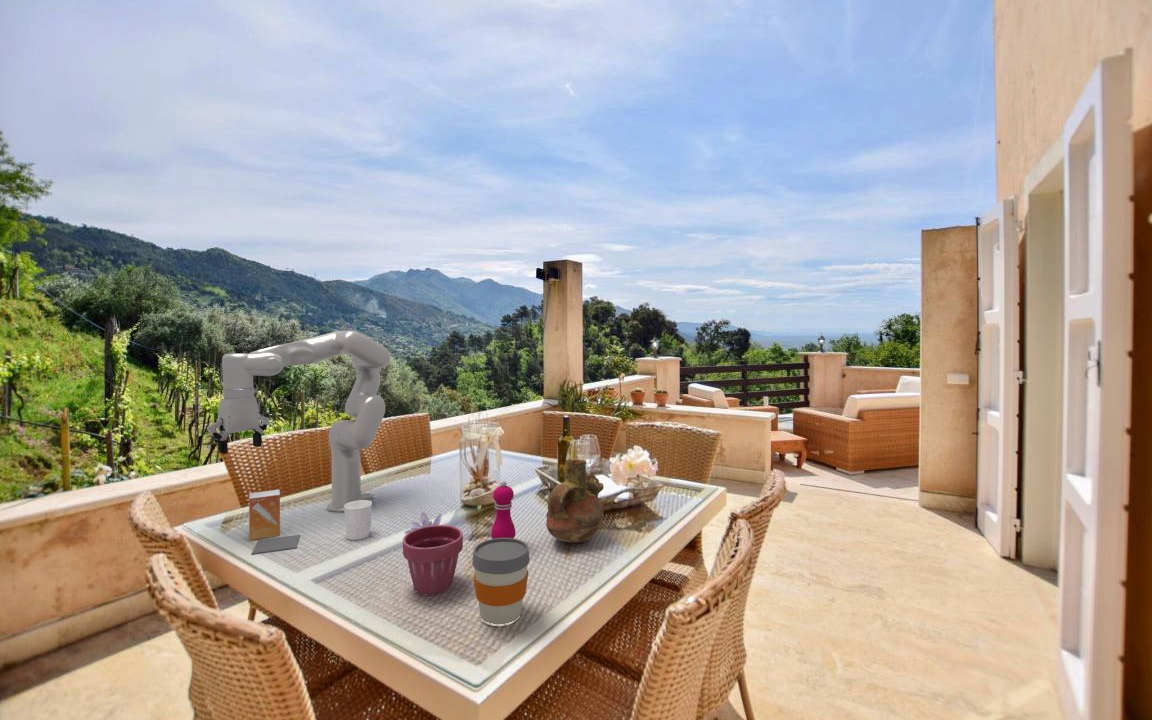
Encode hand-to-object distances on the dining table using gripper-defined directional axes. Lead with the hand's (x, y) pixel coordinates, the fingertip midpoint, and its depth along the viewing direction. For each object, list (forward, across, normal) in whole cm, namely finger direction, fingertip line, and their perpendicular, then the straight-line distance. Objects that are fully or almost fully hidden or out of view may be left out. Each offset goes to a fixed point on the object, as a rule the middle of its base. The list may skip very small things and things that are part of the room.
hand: (240, 449), depth 148 cm
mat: (+27, -1, +15) cm, 31 cm away
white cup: (+28, -16, +30) cm, 44 cm away
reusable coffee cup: (+28, 0, +95) cm, 99 cm away
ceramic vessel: (+28, -46, +92) cm, 106 cm away
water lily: (+28, -17, +57) cm, 65 cm away
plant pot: (+28, -3, +73) cm, 78 cm away
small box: (+27, -4, +4) cm, 28 cm away
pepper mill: (+28, -30, +75) cm, 86 cm away
